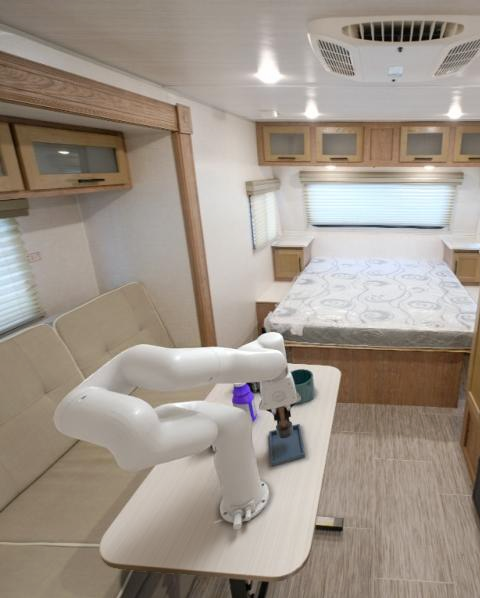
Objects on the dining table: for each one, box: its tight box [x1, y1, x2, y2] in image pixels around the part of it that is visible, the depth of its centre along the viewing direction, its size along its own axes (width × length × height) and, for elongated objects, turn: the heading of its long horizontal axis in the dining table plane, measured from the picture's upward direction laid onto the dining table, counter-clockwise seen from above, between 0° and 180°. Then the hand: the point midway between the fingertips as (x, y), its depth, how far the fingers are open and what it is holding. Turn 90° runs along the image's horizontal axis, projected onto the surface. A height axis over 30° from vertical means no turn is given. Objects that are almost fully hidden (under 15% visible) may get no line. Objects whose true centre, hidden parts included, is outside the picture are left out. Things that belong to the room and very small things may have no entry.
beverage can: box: [247, 382, 260, 393], centre depth 140 cm, size 7×7×12 cm
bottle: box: [231, 383, 258, 423], centre depth 122 cm, size 7×6×17 cm
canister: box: [290, 368, 316, 406], centre depth 137 cm, size 11×11×9 cm
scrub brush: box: [275, 406, 293, 438], centre depth 110 cm, size 5×5×11 cm
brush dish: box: [268, 423, 306, 467], centre depth 114 cm, size 14×10×2 cm
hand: (283, 419), depth 110 cm, fingers closed on scrub brush, 2 cm apart
